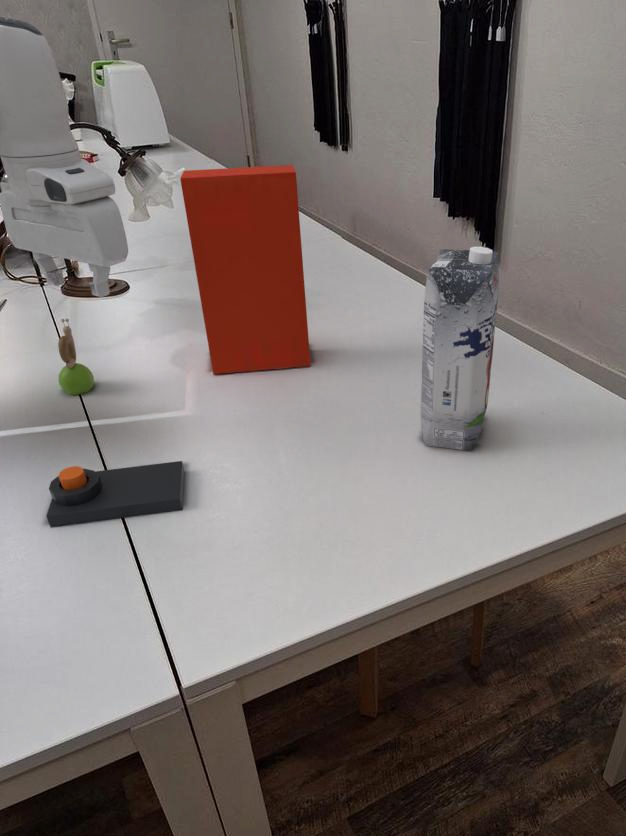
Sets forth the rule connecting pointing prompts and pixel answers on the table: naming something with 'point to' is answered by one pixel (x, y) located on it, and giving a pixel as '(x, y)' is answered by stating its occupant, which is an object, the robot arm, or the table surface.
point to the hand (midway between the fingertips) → (78, 289)
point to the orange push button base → (118, 494)
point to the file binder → (249, 266)
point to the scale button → (72, 478)
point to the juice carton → (458, 346)
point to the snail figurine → (72, 366)
